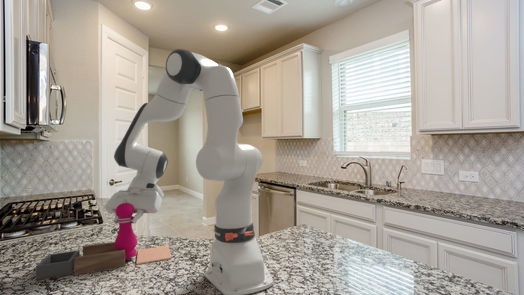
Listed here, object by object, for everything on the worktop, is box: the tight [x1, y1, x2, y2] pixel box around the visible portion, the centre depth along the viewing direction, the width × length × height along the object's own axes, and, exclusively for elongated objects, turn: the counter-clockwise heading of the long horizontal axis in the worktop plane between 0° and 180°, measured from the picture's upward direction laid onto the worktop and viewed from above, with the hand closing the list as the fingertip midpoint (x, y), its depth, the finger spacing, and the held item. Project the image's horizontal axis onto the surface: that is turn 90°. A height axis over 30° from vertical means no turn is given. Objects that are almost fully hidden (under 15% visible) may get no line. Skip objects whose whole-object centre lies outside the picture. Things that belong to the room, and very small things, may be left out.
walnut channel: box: [74, 241, 126, 275], centre depth 95 cm, size 13×14×5 cm
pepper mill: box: [114, 199, 138, 260], centre depth 97 cm, size 7×7×20 cm
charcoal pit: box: [35, 249, 81, 281], centre depth 90 cm, size 11×9×4 cm
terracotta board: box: [135, 245, 172, 266], centre depth 101 cm, size 14×11×1 cm
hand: (124, 222), depth 97 cm, fingers closed on pepper mill, 5 cm apart
